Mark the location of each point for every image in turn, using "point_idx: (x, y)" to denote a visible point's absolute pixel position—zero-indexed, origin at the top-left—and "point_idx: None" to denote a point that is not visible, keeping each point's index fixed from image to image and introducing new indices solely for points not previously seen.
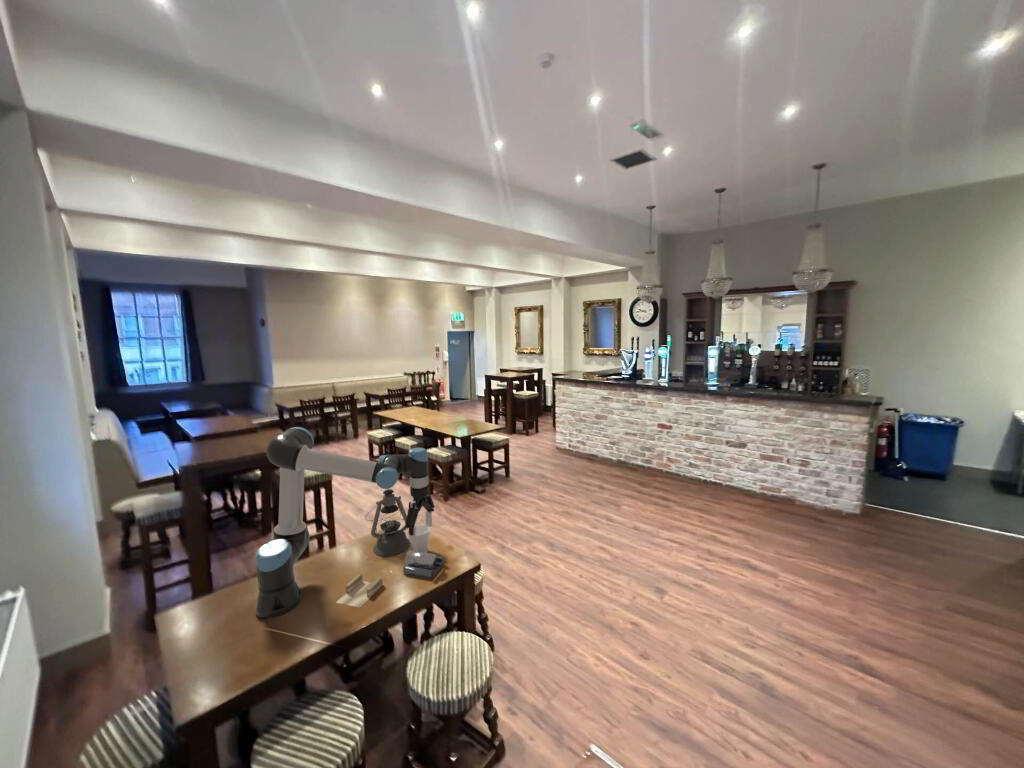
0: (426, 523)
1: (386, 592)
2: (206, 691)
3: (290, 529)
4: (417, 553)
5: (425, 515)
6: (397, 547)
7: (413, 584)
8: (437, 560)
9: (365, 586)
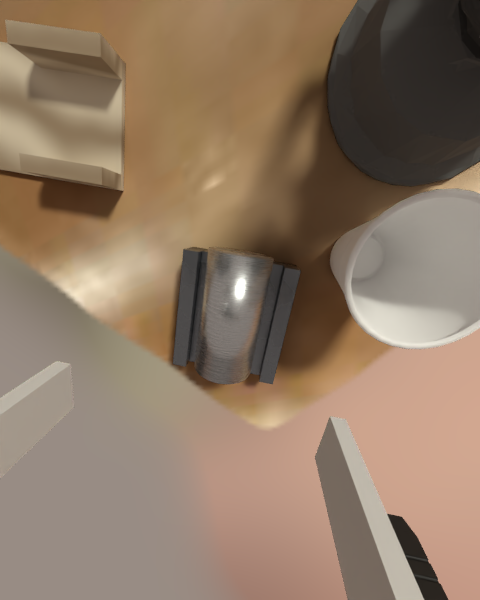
0: (335, 444)
1: (95, 223)
2: None
3: None
4: (223, 310)
5: (379, 553)
6: (374, 132)
7: (153, 299)
8: (263, 358)
9: (94, 119)
